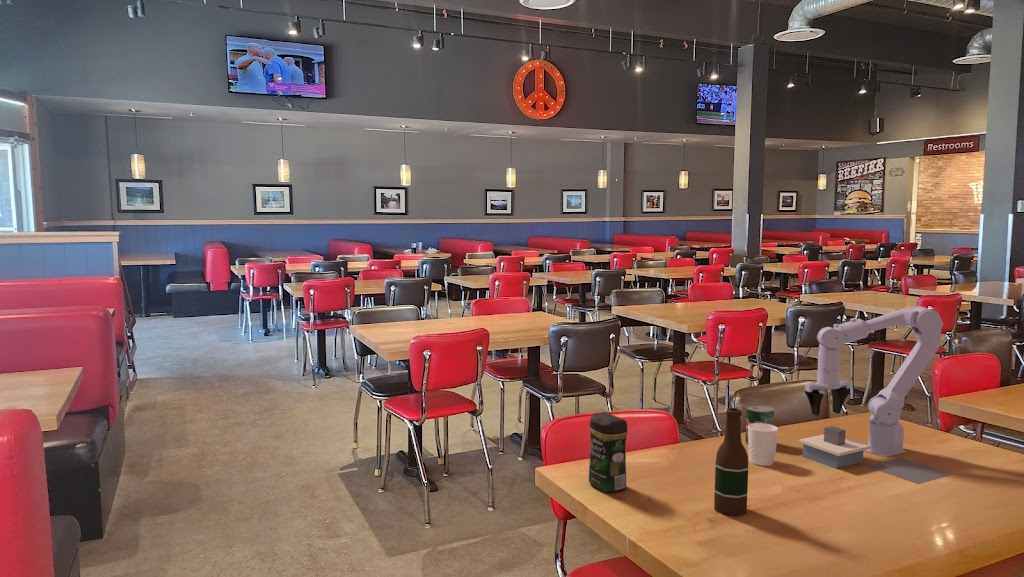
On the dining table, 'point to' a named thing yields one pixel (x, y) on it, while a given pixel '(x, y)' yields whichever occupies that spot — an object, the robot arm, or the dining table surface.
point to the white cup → (762, 443)
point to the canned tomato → (758, 416)
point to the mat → (909, 470)
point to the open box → (832, 457)
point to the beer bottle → (731, 469)
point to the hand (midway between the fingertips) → (826, 413)
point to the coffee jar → (608, 452)
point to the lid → (834, 442)
